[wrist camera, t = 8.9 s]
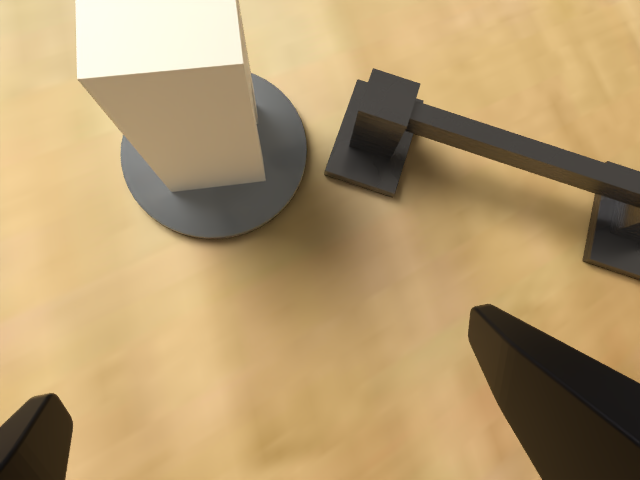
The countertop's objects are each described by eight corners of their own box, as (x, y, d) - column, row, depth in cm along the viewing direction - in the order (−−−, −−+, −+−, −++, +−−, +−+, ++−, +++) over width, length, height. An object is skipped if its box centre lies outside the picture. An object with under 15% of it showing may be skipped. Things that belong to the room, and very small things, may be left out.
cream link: (265, 181, 23) (243, 63, 13) (171, 191, 23) (77, 79, 13) (256, 104, 24) (228, -56, 14) (165, 113, 24) (74, -46, 14)
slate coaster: (290, 252, 23) (290, 250, 22) (103, 223, 23) (98, 220, 22) (318, 88, 25) (319, 82, 25) (149, 60, 25) (146, 54, 25)
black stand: (653, 284, 24) (732, 271, 19) (324, 174, 24) (330, 138, 20) (666, 187, 25) (743, 154, 21) (356, 85, 25) (368, 33, 21)
